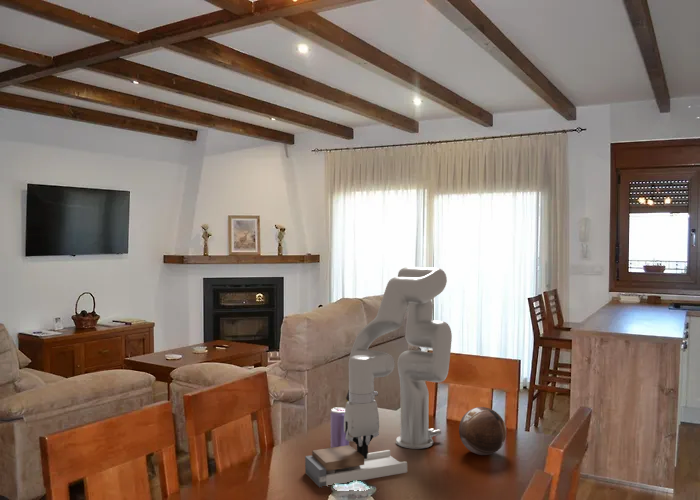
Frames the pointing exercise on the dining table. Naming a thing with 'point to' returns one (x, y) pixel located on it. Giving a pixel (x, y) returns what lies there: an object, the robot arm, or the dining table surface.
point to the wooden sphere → (482, 431)
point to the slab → (338, 458)
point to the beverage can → (338, 428)
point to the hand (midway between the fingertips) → (362, 457)
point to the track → (372, 468)
